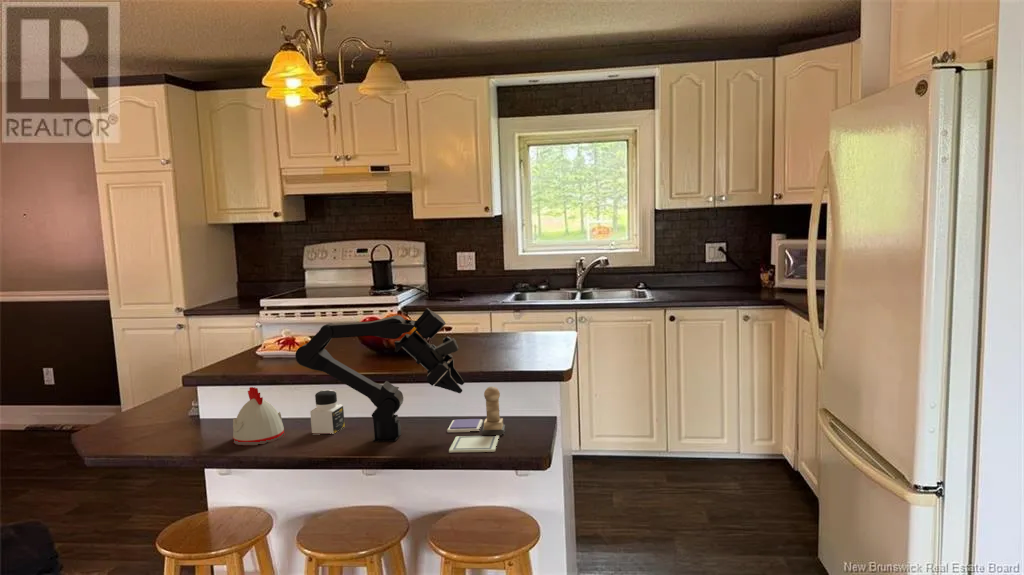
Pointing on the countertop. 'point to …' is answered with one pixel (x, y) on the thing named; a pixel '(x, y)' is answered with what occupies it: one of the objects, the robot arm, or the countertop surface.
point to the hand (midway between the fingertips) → (462, 387)
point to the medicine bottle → (327, 413)
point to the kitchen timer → (257, 420)
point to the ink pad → (465, 425)
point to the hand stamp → (492, 413)
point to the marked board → (474, 444)
